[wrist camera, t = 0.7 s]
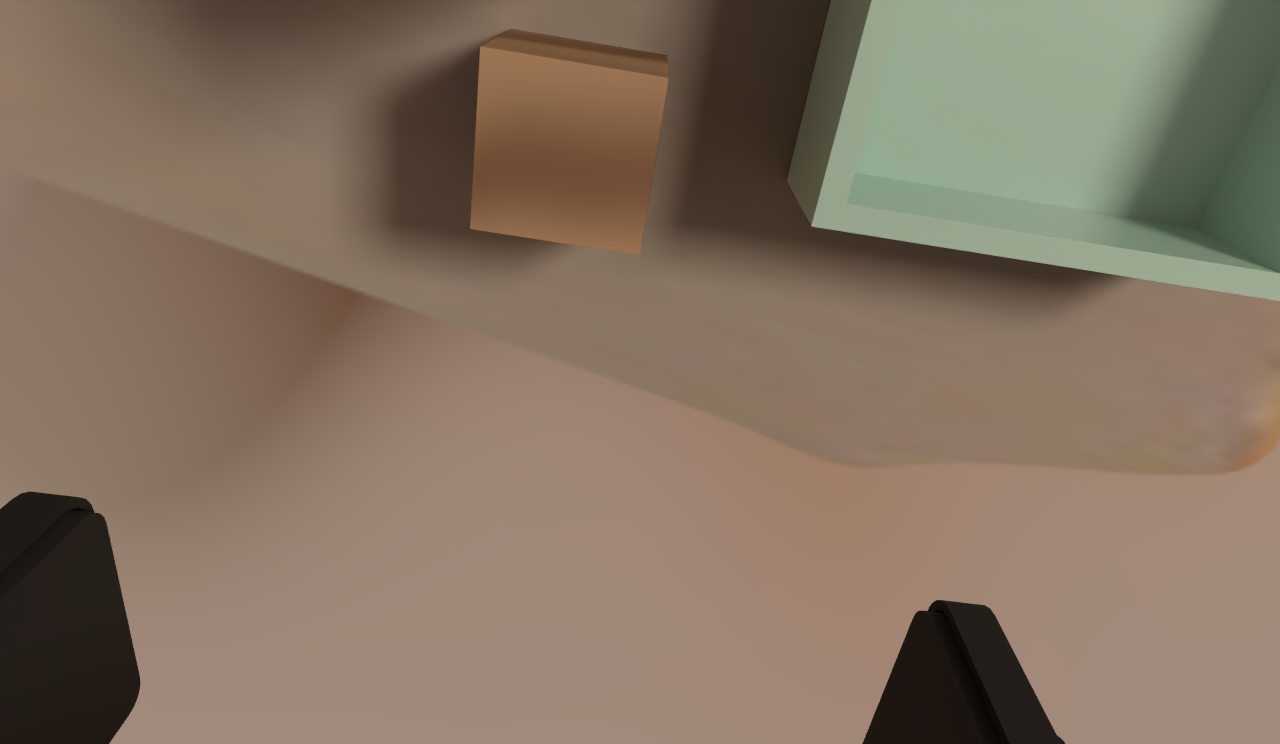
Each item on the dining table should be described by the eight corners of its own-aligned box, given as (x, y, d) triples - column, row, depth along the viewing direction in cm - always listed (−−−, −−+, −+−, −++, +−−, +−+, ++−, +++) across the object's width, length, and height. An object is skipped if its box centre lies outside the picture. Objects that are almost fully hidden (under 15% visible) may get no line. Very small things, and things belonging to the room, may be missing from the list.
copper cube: (511, 28, 25) (480, 46, 21) (667, 54, 25) (669, 78, 21) (500, 183, 28) (470, 228, 23) (642, 206, 28) (640, 255, 23)
